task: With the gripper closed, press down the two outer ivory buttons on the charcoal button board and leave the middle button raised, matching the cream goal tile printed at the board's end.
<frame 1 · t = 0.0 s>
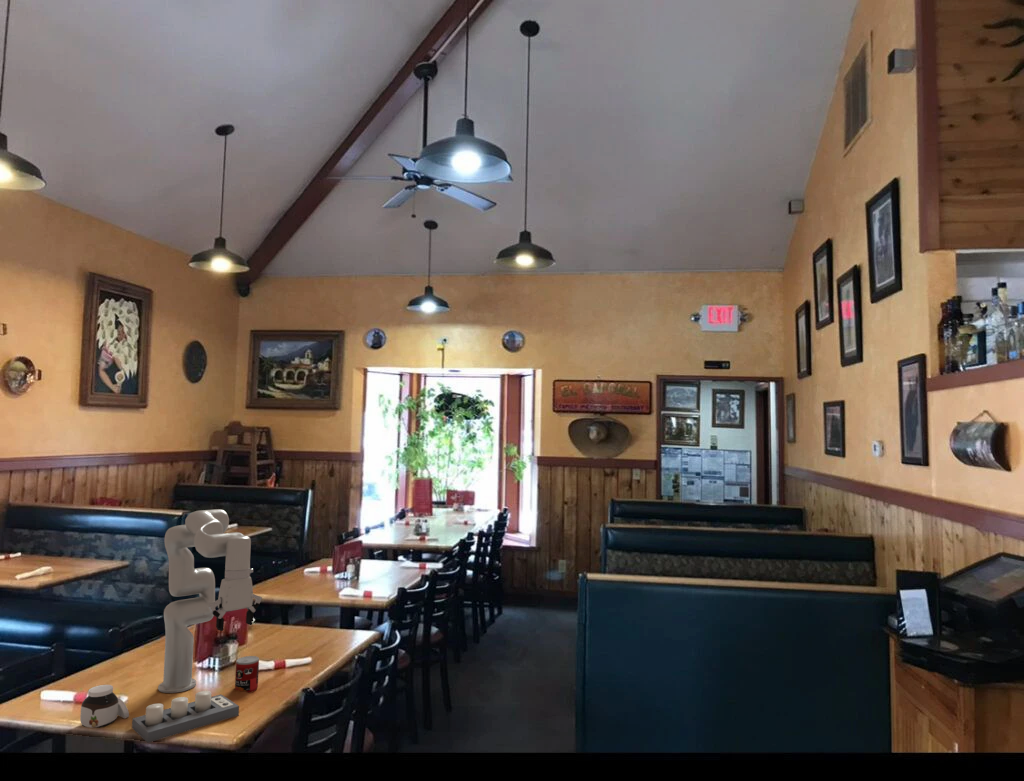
hand: (234, 627, 218), 31 cm above the table, fingers open, 9 cm apart
canned food: (246, 690, 245), on the table
button b: (179, 707, 214), point 6 cm above the table, slide at 0.0 cm
button a: (203, 701, 219), point 6 cm above the table, slide at 0.0 cm
button c: (154, 714, 208), point 6 cm above the table, slide at 0.0 cm
spread jar: (105, 724, 215), on the table
board: (186, 724, 215), on the table
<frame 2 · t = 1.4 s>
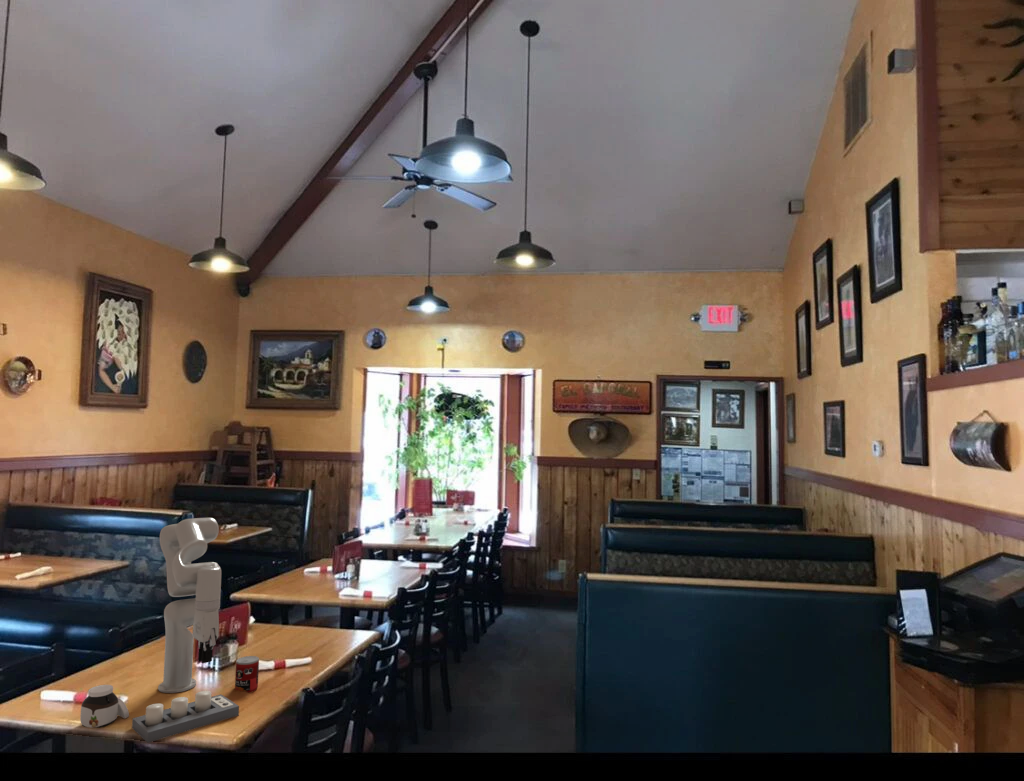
hand: (205, 660, 220), 19 cm above the table, fingers closed
nothing on the table moved.
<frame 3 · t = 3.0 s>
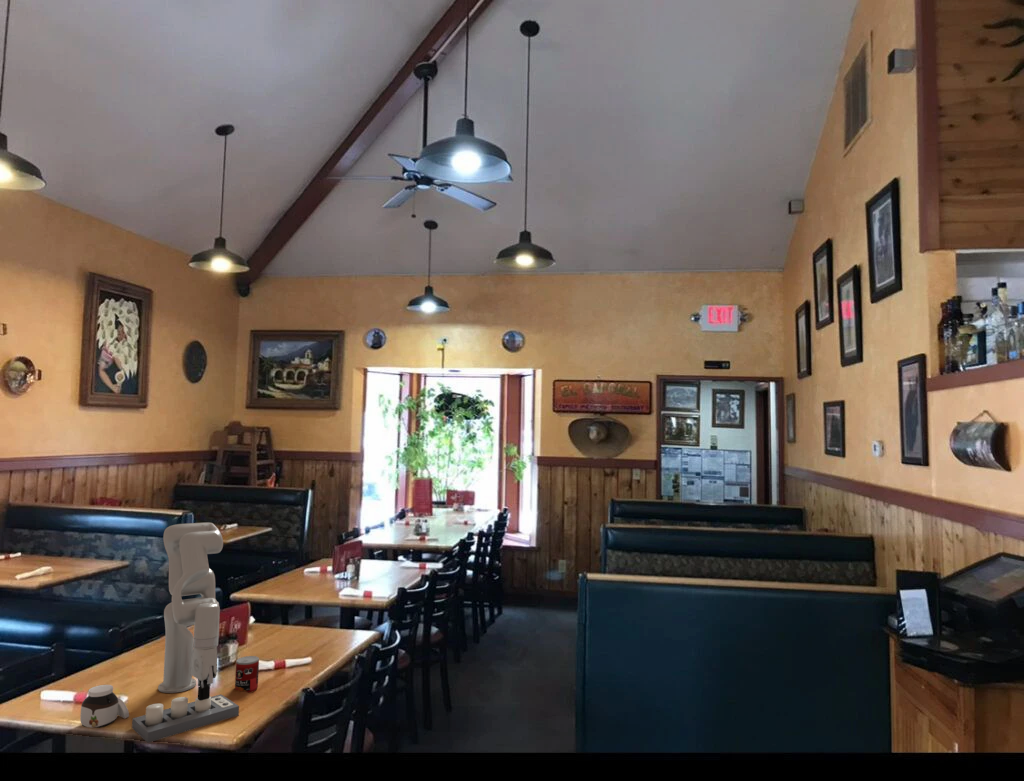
hand: (203, 698, 219), 7 cm above the table, fingers closed
button a: (202, 706, 219), point 4 cm above the table, slide at -1.6 cm
everything else where it was.
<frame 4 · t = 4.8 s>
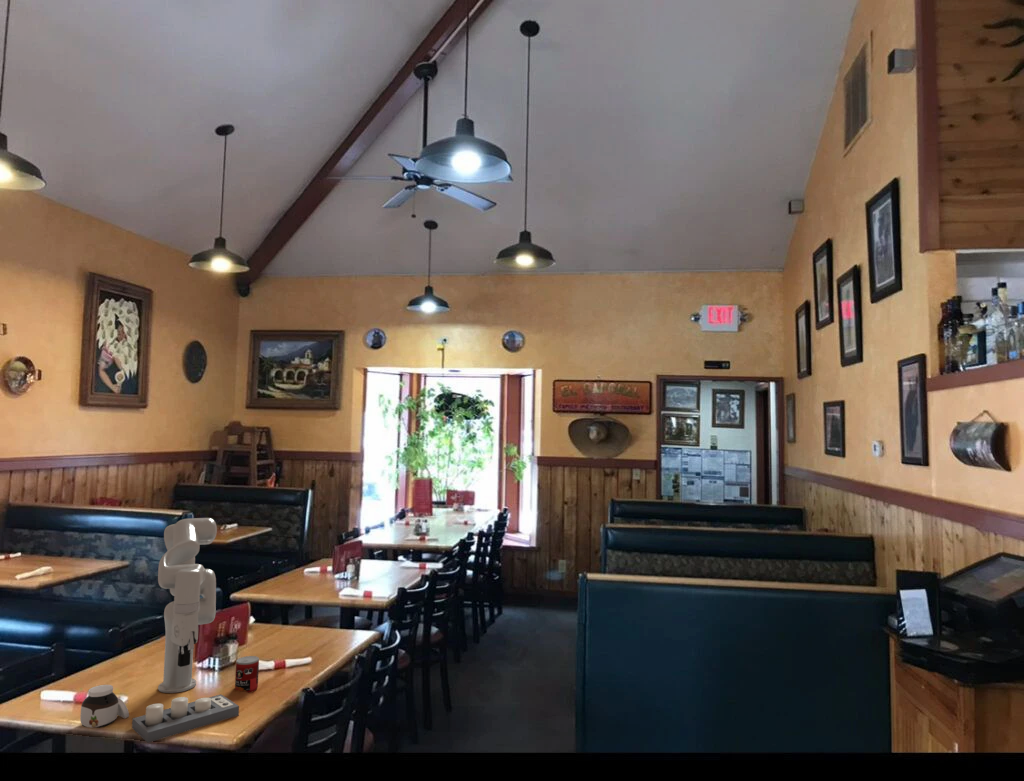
hand: (183, 665, 215), 19 cm above the table, fingers closed
button a: (202, 708, 219), point 4 cm above the table, slide at -2.2 cm
everything else where it was.
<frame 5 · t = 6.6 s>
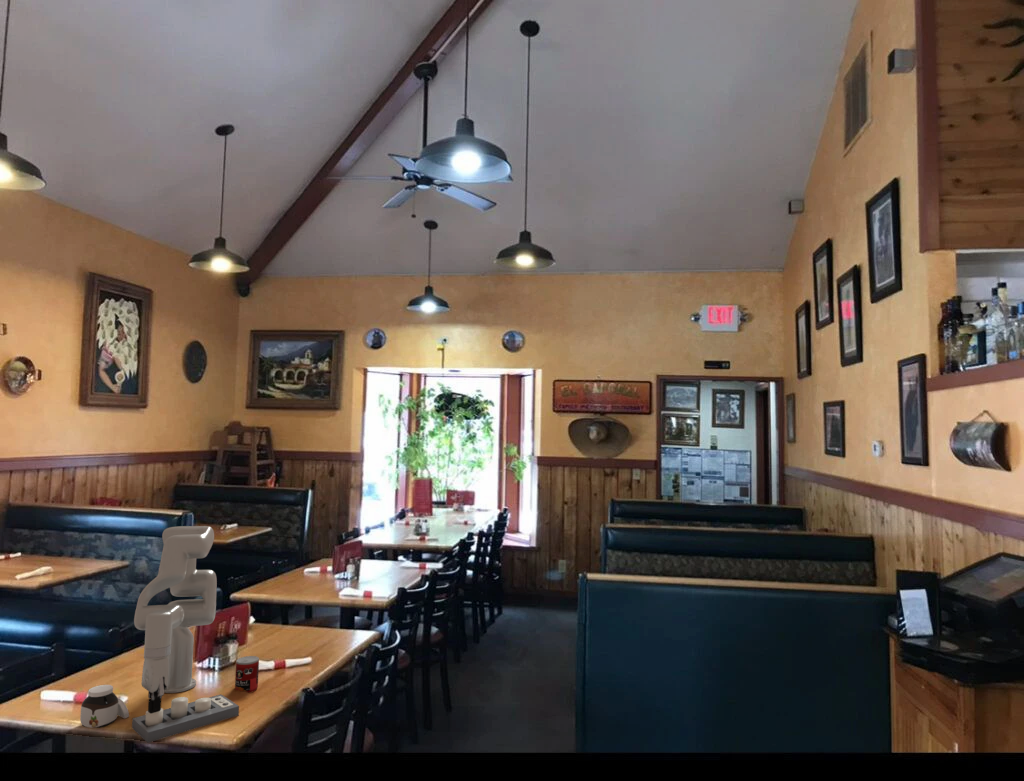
hand: (154, 711, 208), 7 cm above the table, fingers closed
button c: (154, 719, 208), point 5 cm above the table, slide at -1.4 cm, touching gripper
everything else where it was.
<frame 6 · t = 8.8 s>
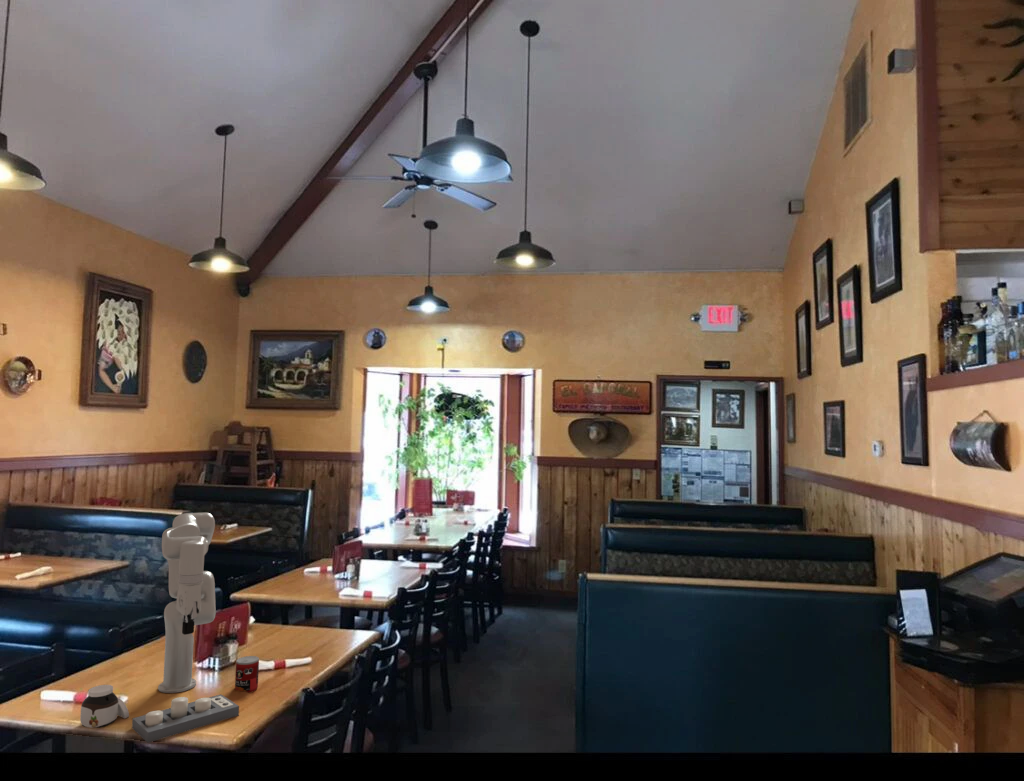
hand: (187, 633, 223), 27 cm above the table, fingers closed
button c: (154, 721, 208), point 4 cm above the table, slide at -2.2 cm
everything else where it was.
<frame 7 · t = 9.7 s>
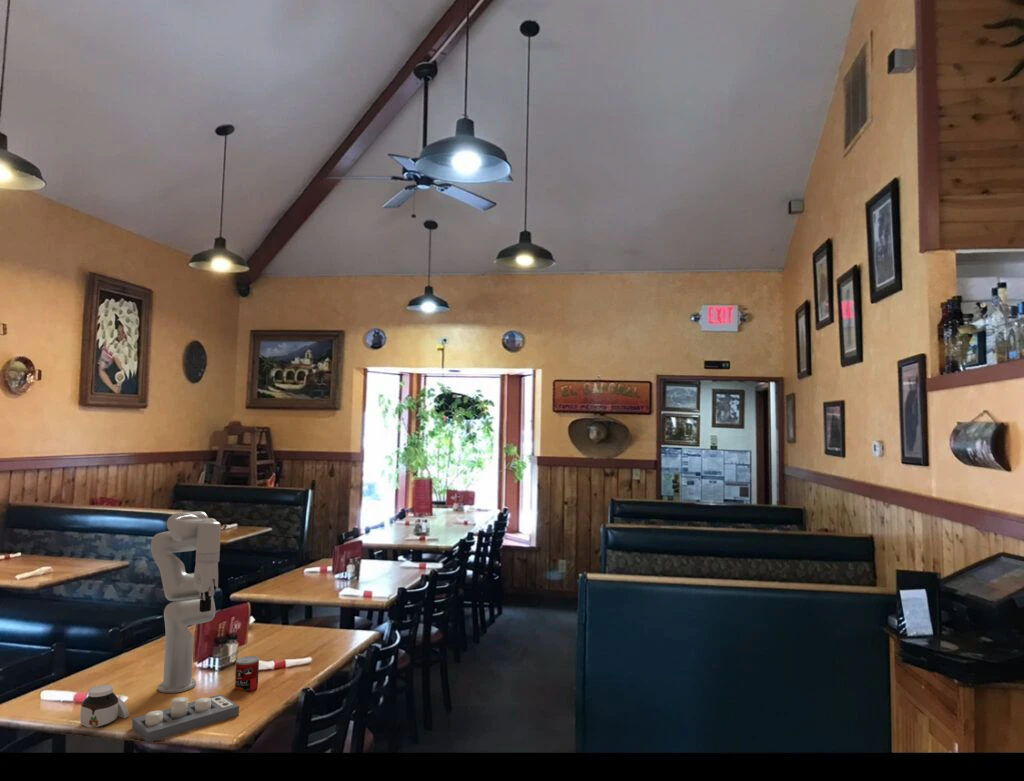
hand: (205, 611, 229), 33 cm above the table, fingers closed
nothing on the table moved.
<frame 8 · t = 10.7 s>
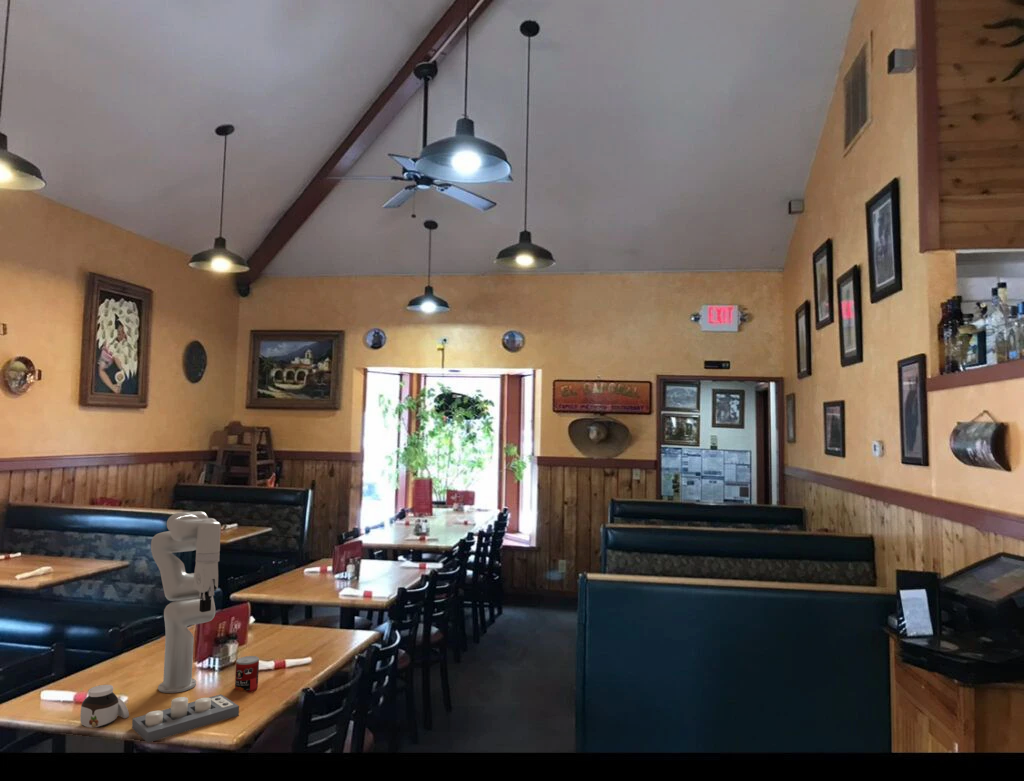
hand: (205, 610, 229), 33 cm above the table, fingers closed
nothing on the table moved.
at the end: button a slide at -2.2 cm; button c slide at -2.2 cm; button b slide at 0.0 cm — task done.
